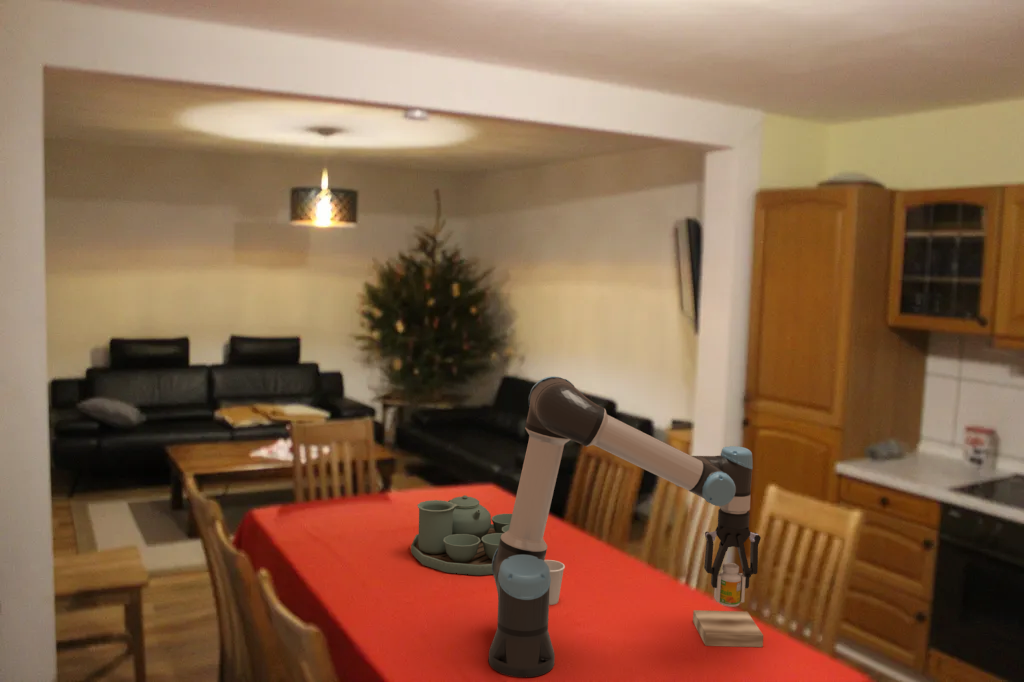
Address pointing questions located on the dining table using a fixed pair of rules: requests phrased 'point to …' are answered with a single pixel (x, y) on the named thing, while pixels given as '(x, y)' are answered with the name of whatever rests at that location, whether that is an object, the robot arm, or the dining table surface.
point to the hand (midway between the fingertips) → (729, 599)
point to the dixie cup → (555, 580)
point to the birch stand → (727, 628)
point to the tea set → (458, 536)
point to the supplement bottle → (730, 585)
